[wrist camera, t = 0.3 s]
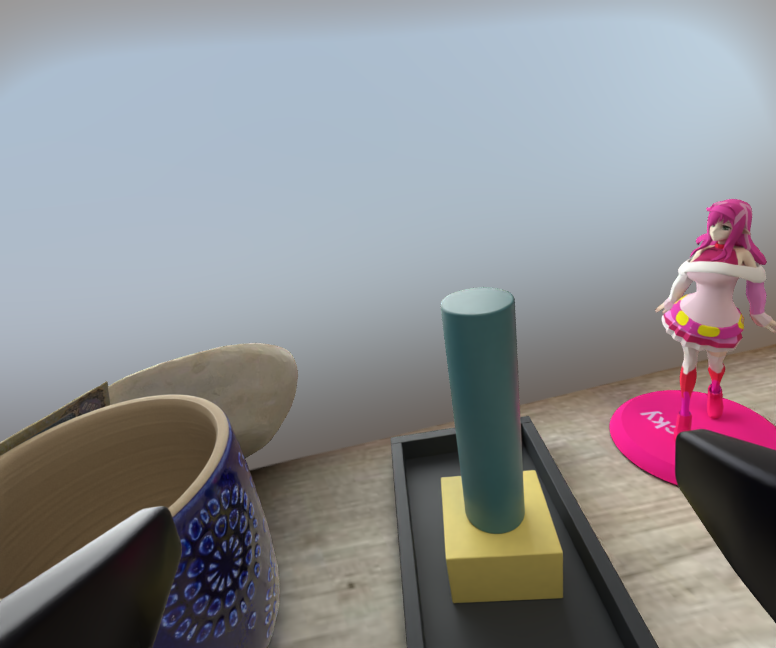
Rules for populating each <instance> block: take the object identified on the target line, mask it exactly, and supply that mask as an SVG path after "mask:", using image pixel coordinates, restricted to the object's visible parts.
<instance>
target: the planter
mask: <svg viewBox="0 0 776 648" xmlns="http://www.w3.org/2000/svg"><path fill="white" fill-rule="evenodd" d="M158 506H165V507H167V508H168V509H169V510H170V512H171V515H172V518H173V520H174V523H175V526H176V529H177V532H178V535H179V537H180V540H181V545H182V554H181V559H180V562H179V565H178V569H177V572H176V575H175V578H174V581H173V585H172V588H171V591H170V594H169V597H168V601H167V604H166V607H165V610H164V613H163V617H162V620H161V623H160V626H159V630H158V633H157V636H156V638H155V641H154V644H153V647H152V648H268V646H269V643H270V640H271V637H272V634H273V630H274V627H275V622H276V618H277V614H278V608H279V600H280V585H279V570H278V564H277V559H276V555H275V551H274V546H273V542H272V538H271V535H270V531H269V527H268V523H267V520H266V517H265V514H264V511H263V508H262V505H261V502H260V499H259V496H258V493H257V490H256V487H255V484H254V481H253V479H252V476H251V473H250V471H249V468H248V465H247V463H246V460H245V457H244V455H243V452H242V449H241V447H240V444H239V441H238V439H237V437H236V434H235V432H234V430H233V427H232V425H231V423H230V421H229V419H228V417H227V415H226V414H225V412H224V411H223V410H222V409H221V408H220V407H219V406H217V405H216V404H214V403H213V402H211V401H208V400H206V399H203V398H199V397H195V396H189V395H158V396H150V397H143V398H138V399H133V400H128V401H124V402H120V403H117V404H113V405H110V406H106V407H103V408H100V409H97V410H94V411H91V412H89V413H86V414H83V415H81V416H78V417H76V418H73V419H71V420H68V421H66V422H64V423H61V424H59V425H57V426H55V427H53V428H50V429H48V430H46V431H44V432H42V433H40V434H38V435H36V436H34V437H32V438H31V439H29V440H27V441H25V442H23V443H21V444H20V445H18V446H16V447H14V448H13V449H11V450H9V451H8V452H6V453H4V454H3V455H1V456H0V600H2V599H3V598H5V597H6V596H8V595H9V594H11V593H13V592H14V591H16V590H17V589H19V588H20V587H22V586H23V585H25V584H27V583H28V582H30V581H31V580H33V579H34V578H36V577H37V576H39V575H40V574H42V573H44V572H45V571H47V570H48V569H50V568H51V567H53V566H54V565H56V564H57V563H59V562H61V561H62V560H64V559H65V558H67V557H68V556H70V555H71V554H73V553H74V552H76V551H78V550H79V549H81V548H82V547H84V546H85V545H87V544H88V543H90V542H91V541H93V540H95V539H96V538H98V537H99V536H101V535H102V534H104V533H105V532H107V531H108V530H110V529H112V528H113V527H115V526H116V525H118V524H119V523H121V522H122V521H124V520H125V519H127V518H129V517H130V516H132V515H133V514H135V513H136V512H138V511H140V510H141V509H144V508H151V507H158Z"/></svg>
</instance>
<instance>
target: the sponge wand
mask: <svg viewBox="0 0 776 648" xmlns="http://www.w3.org/2000/svg"><path fill="white" fill-rule="evenodd" d="M441 313H442V321H443V330H444V339H445V347H446V355H447V364H448V372H449V380H450V388H451V396H452V405H453V413H454V422H455V430H456V438H457V446H458V455H459V463H460V471H461V476H454V477H442V478H441V491H442V507H443V522H444V538H445V554H446V563H447V570H448V576H449V583H450V589H451V596H452V602H453V603H468V602H490V601H512V600H534V599H556V598H563V551H562V548H561V545H560V542H559V539H558V536H557V533H556V530H555V527H554V524H553V521H552V518H551V515H550V512H549V509H548V506H547V503H546V500H545V497H544V494H543V491H542V488H541V485H540V482H539V479H538V476H537V473H536V471H535V470H530V471H523V463H522V442H521V421H520V403H519V381H518V360H517V339H516V319H515V299H514V297H513V295H512V294H511V293H509V292H508V291H505V290H502V289H498V288H487V287H483V288H471V289H466V290H461V291H458V292H455V293H453V294H450V295H449V296H447V297H445V298H444V299H443V301H442V302H441Z"/></svg>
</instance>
